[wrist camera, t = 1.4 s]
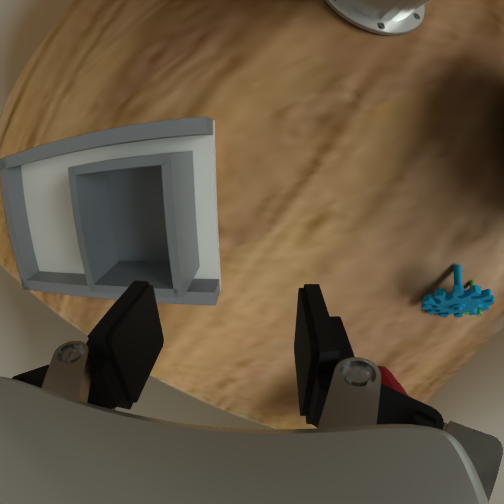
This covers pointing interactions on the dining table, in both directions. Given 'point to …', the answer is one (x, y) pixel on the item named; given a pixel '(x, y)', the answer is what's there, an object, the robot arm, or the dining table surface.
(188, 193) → the crate
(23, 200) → the bay
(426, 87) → the dining table surface
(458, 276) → the gear
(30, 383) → the robot arm
